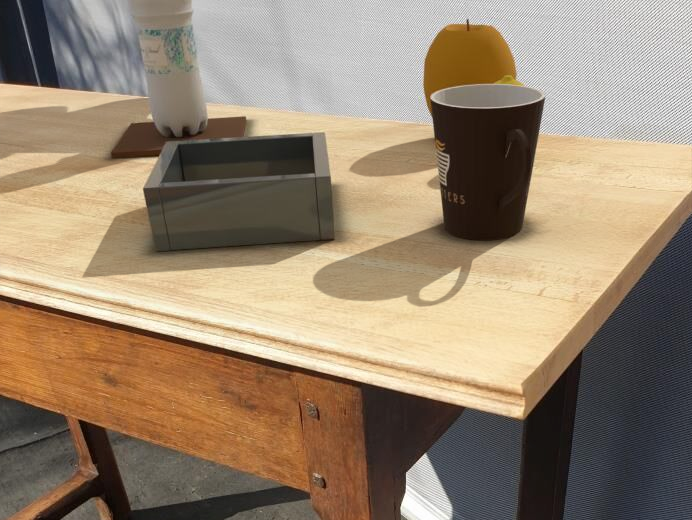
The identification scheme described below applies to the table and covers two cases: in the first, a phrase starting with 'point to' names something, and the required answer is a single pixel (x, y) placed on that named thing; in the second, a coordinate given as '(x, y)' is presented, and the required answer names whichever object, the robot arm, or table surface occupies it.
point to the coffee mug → (485, 156)
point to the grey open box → (240, 192)
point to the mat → (172, 136)
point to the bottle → (171, 65)
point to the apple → (466, 58)
